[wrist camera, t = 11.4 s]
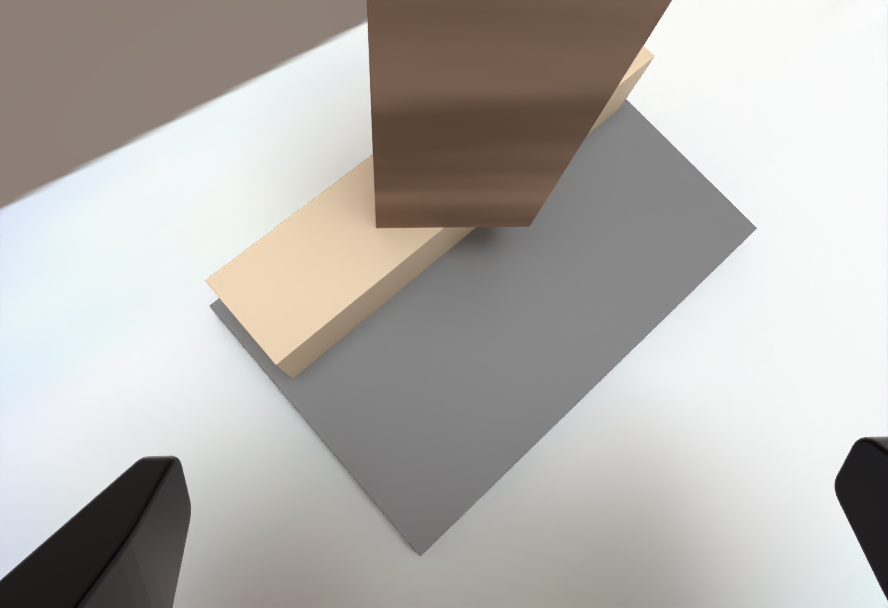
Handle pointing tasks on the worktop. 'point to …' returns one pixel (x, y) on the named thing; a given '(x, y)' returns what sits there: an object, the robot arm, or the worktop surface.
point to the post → (489, 101)
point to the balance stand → (473, 313)
